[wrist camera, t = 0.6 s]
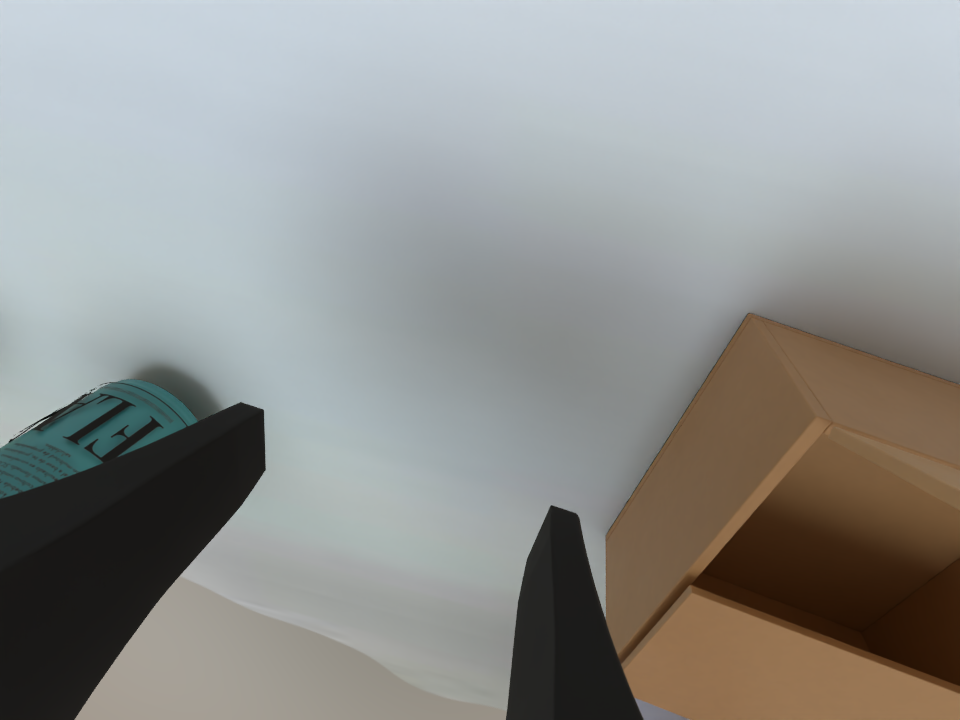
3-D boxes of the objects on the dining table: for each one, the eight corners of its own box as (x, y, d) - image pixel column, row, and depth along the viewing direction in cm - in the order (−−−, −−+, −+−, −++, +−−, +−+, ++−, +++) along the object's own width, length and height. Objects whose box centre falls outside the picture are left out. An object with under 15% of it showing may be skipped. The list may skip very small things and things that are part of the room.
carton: (748, 312, 17) (828, 434, 11) (1114, 437, 16) (1416, 641, 10) (605, 535, 24) (605, 687, 18) (860, 631, 23) (951, 824, 17)
